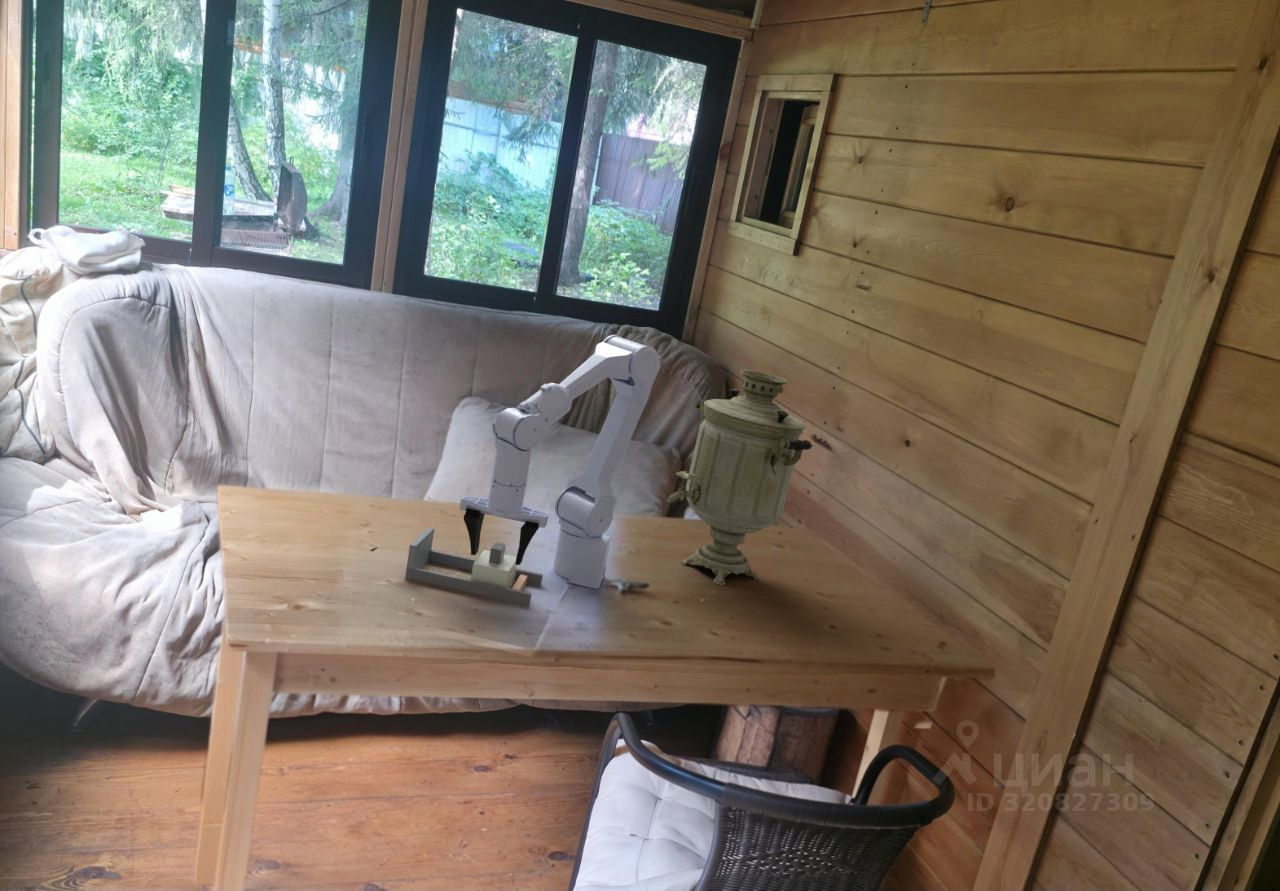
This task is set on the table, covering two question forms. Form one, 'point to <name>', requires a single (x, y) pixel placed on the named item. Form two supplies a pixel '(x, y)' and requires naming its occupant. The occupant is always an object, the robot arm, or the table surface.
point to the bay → (423, 553)
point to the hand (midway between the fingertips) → (496, 558)
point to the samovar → (740, 470)
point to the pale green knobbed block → (495, 567)
